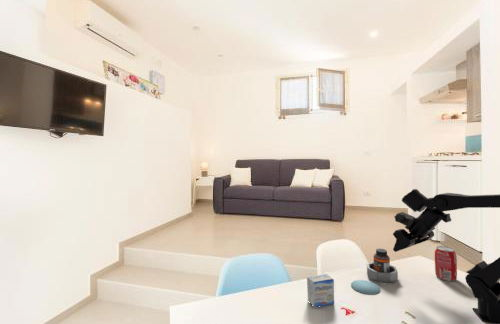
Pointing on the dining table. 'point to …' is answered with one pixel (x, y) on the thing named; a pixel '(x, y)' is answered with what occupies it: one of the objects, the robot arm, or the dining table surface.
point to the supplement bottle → (381, 261)
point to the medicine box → (320, 290)
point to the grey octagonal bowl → (382, 274)
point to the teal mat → (365, 287)
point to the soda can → (445, 263)
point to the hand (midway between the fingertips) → (400, 248)
